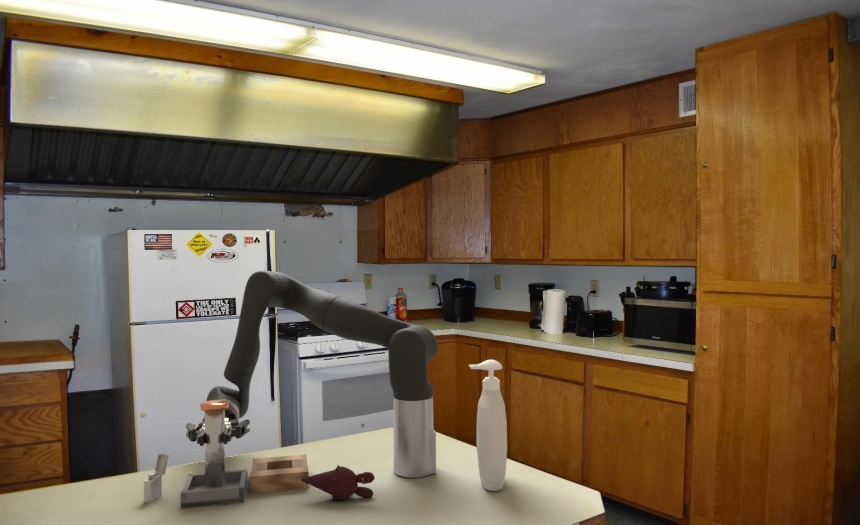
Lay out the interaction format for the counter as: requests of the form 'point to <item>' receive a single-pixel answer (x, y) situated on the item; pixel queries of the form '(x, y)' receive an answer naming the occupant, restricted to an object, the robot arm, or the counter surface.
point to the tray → (214, 490)
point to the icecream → (341, 483)
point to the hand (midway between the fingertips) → (213, 440)
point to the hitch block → (278, 473)
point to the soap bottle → (491, 429)
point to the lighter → (155, 479)
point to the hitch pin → (214, 442)
